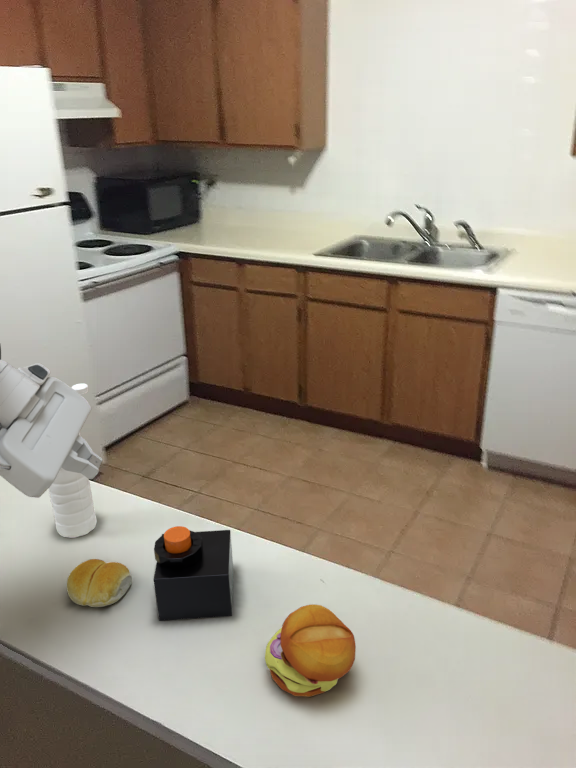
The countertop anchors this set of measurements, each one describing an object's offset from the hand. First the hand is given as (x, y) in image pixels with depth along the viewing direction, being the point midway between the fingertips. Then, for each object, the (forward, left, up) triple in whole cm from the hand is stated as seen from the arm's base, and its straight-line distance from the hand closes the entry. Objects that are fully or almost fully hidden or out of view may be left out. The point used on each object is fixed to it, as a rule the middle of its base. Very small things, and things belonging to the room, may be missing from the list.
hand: (98, 470), depth 86 cm
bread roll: (-3, +3, -22) cm, 23 cm away
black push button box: (+11, -1, -22) cm, 25 cm away
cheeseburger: (+24, -18, -22) cm, 37 cm away
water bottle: (-7, +20, -22) cm, 31 cm away
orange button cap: (+9, 0, -13) cm, 16 cm away
